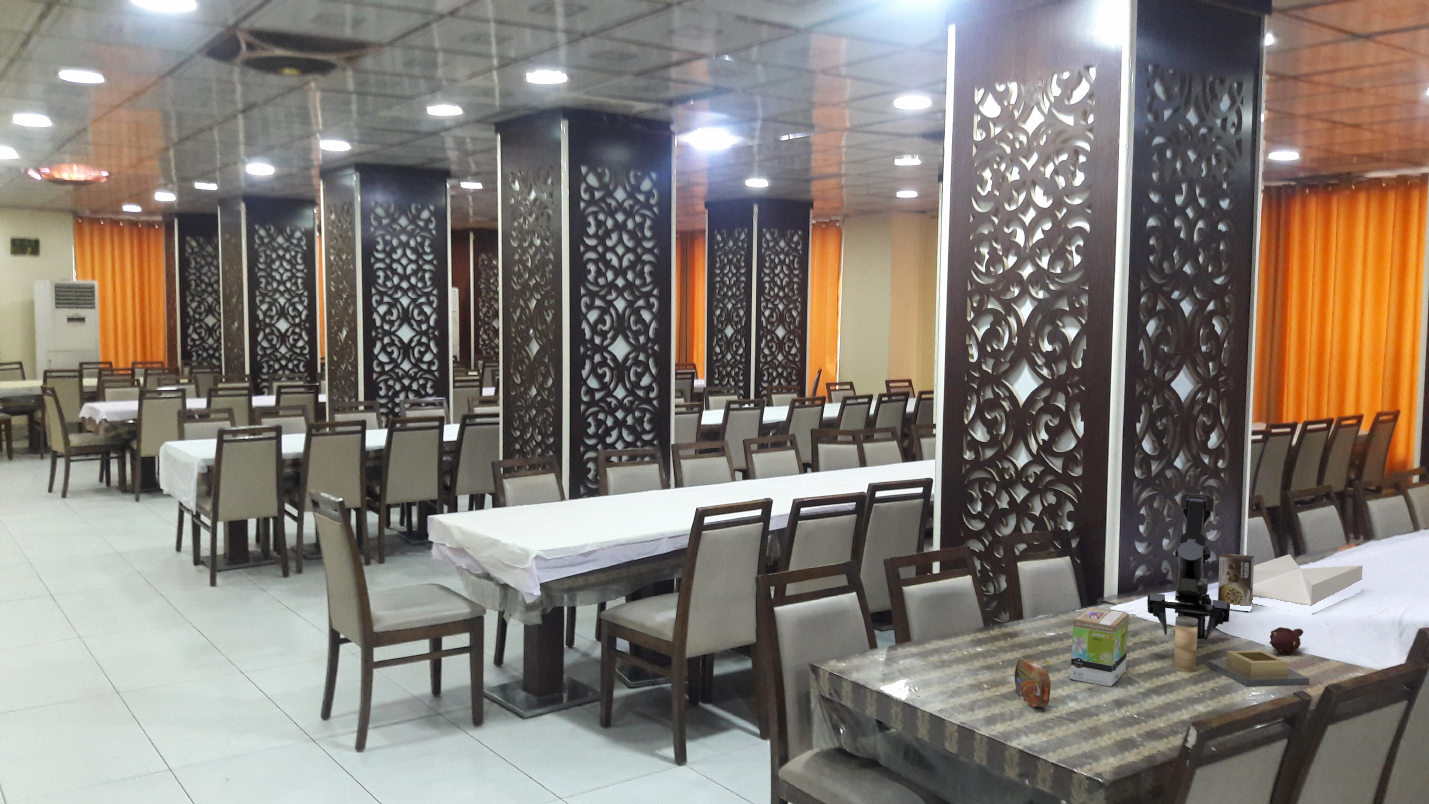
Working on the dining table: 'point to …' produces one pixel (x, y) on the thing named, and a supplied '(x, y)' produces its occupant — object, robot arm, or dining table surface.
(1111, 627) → the tea box
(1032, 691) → the tin
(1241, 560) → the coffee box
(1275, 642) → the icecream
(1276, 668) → the socket
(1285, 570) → the building model
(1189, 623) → the tan cylinder
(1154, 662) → the dining table surface
